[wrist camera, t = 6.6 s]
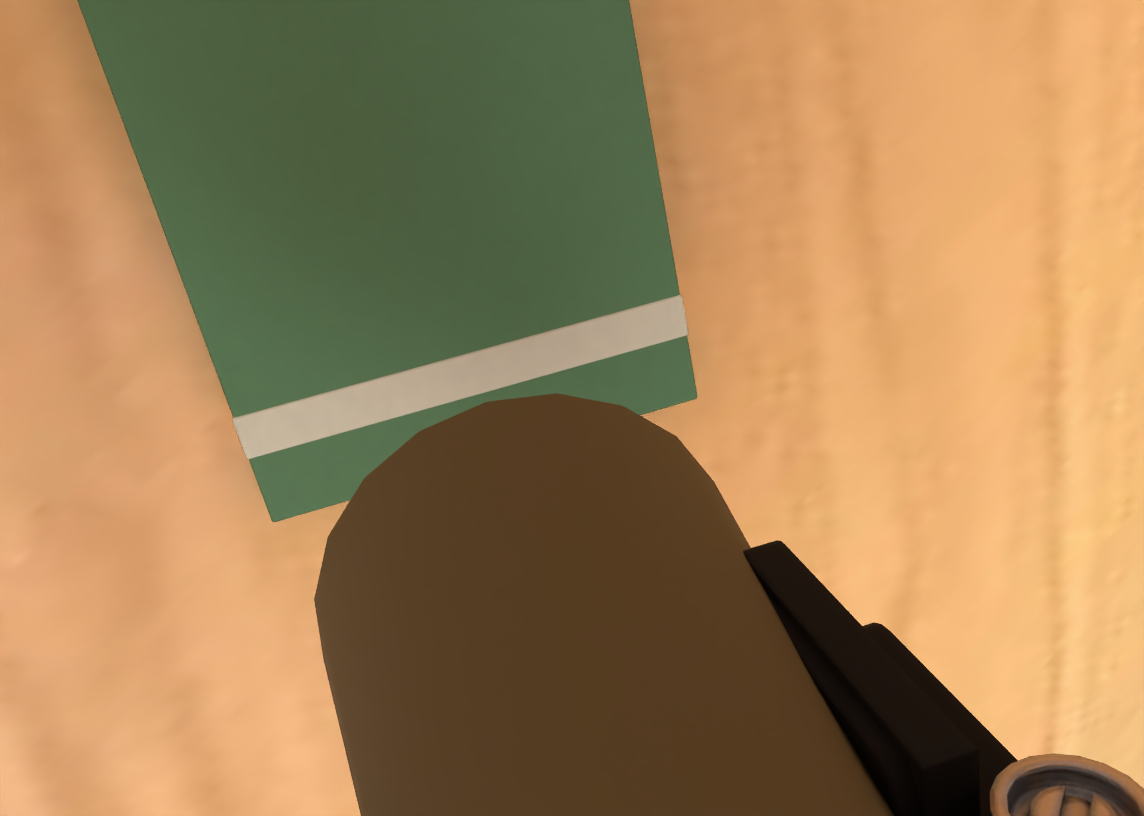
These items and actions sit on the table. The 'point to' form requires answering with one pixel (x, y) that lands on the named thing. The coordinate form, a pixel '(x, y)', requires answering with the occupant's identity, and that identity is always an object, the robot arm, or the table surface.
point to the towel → (400, 214)
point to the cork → (566, 632)
